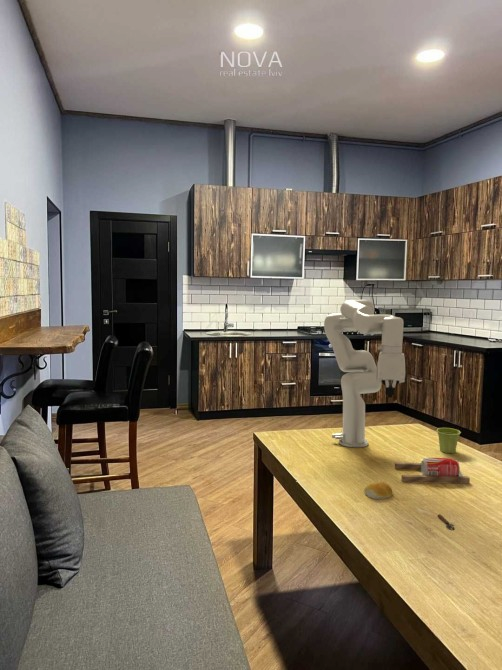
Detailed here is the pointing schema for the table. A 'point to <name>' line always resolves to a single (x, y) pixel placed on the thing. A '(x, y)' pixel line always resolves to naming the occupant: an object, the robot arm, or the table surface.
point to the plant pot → (448, 439)
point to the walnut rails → (426, 477)
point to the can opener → (446, 522)
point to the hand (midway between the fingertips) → (389, 396)
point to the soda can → (440, 467)
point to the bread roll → (378, 490)
